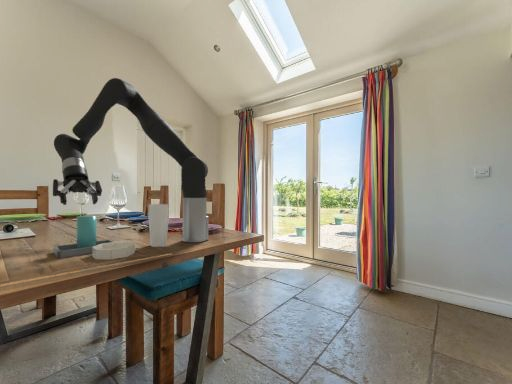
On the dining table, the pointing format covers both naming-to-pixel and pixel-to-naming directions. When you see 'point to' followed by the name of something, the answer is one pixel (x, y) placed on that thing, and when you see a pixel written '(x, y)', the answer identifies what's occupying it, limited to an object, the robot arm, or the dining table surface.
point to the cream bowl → (113, 250)
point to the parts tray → (74, 249)
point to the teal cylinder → (86, 231)
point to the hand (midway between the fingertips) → (80, 203)
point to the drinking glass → (158, 224)
